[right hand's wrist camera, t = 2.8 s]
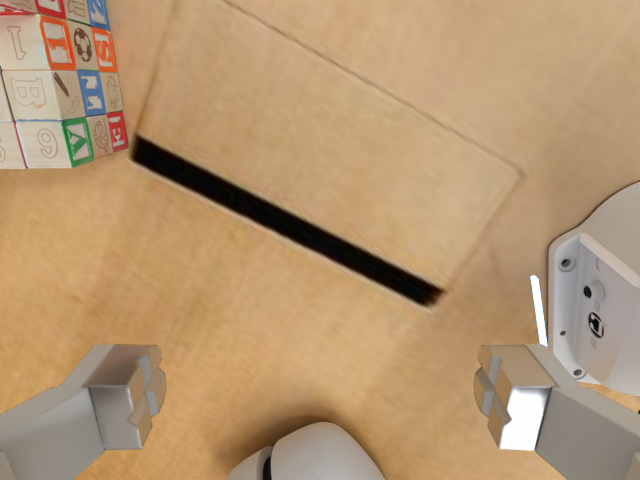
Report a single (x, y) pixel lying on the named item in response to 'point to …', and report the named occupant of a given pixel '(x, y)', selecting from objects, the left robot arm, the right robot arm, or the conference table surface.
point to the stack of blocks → (57, 84)
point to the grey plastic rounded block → (310, 458)
